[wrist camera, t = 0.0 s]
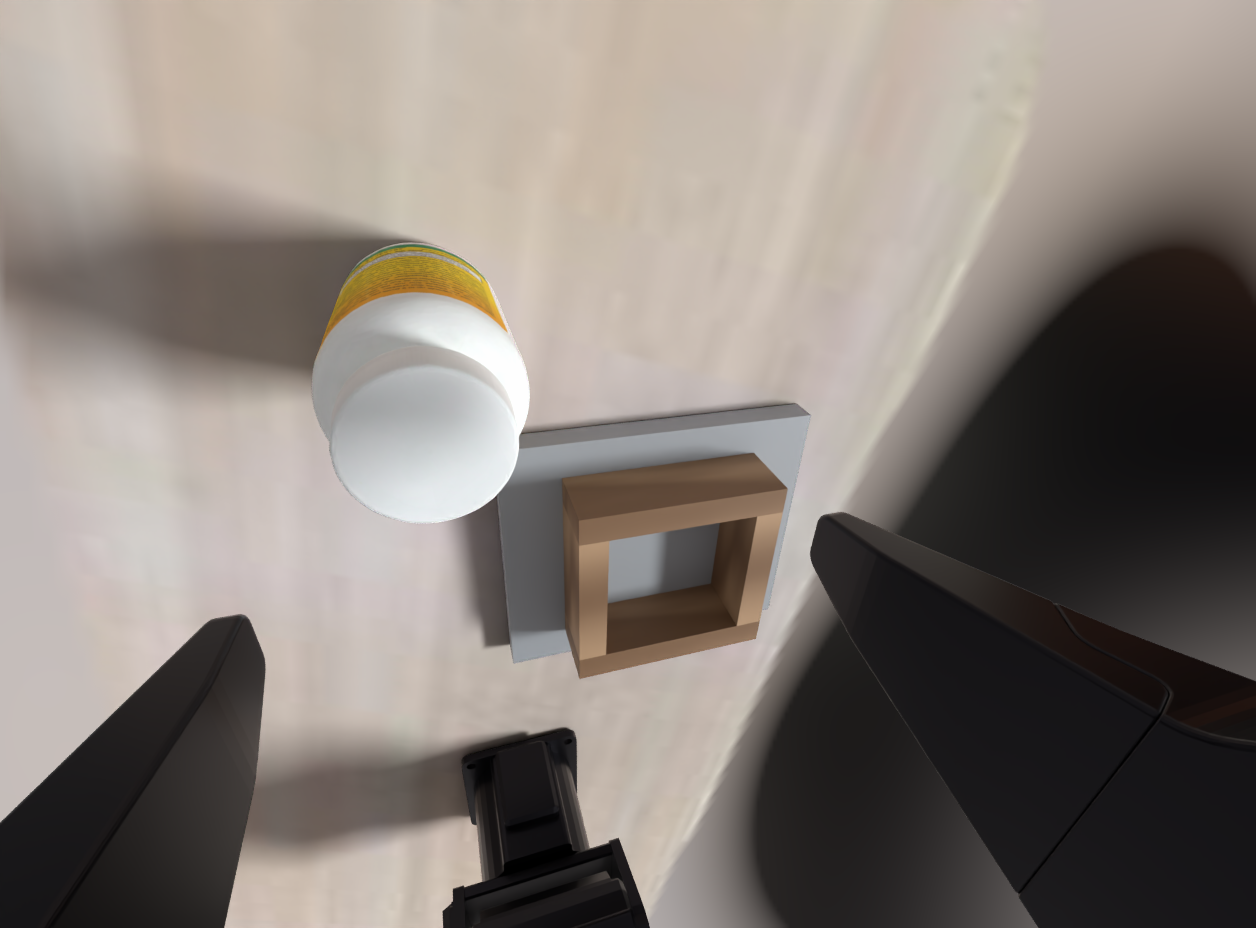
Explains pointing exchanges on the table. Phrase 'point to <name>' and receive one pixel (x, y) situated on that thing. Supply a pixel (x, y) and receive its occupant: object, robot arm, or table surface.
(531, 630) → the board
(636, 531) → the collar
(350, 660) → the table surface
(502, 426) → the supplement bottle
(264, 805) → the table surface
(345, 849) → the table surface
